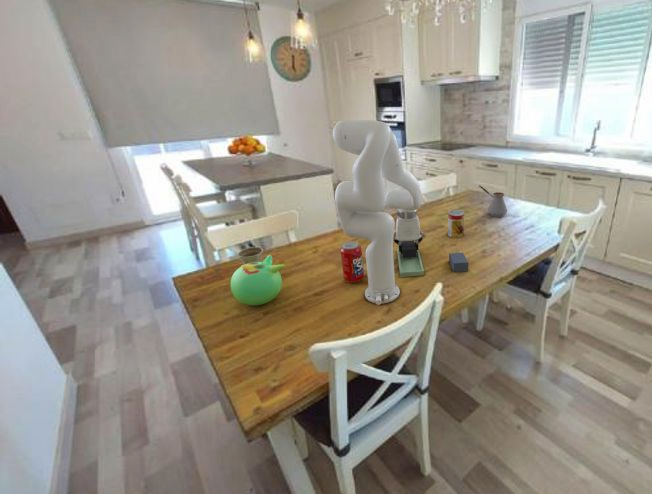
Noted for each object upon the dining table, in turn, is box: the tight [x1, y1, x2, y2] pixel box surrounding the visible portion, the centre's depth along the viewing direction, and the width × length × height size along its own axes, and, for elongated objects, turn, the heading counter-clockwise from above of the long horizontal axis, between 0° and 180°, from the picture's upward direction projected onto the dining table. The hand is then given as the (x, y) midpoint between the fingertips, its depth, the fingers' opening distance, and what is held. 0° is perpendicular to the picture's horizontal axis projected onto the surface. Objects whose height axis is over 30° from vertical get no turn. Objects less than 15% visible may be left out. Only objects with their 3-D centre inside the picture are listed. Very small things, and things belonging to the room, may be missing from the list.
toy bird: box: [229, 254, 286, 306], centre depth 112 cm, size 18×17×15 cm
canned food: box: [447, 209, 465, 239], centre depth 162 cm, size 8×8×12 cm
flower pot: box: [237, 246, 264, 265], centre depth 132 cm, size 9×9×9 cm
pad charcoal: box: [402, 240, 416, 258], centre depth 141 cm, size 9×6×4 cm, turn 7°
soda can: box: [339, 241, 365, 284], centre depth 124 cm, size 8×8×15 cm
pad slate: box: [448, 251, 469, 273], centre depth 134 cm, size 9×6×4 cm, turn 7°
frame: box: [396, 247, 425, 278], centre depth 138 cm, size 23×10×2 cm, turn 7°
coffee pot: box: [478, 184, 508, 218], centre depth 190 cm, size 21×12×15 cm, turn 39°
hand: (408, 251), depth 142 cm, fingers closed on pad charcoal, 5 cm apart
